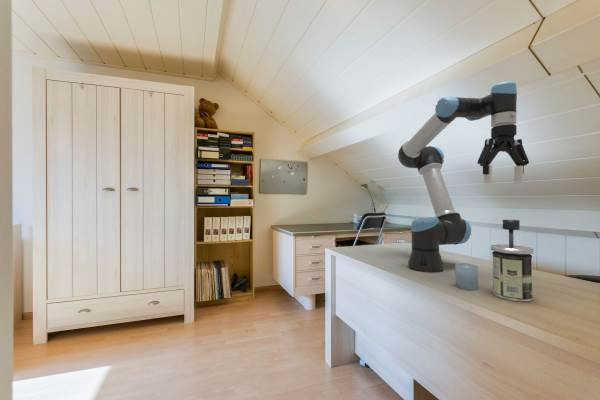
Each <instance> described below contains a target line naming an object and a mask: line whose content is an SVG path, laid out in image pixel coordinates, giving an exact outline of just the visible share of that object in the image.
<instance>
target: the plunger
mask: <svg viewBox="0 0 600 400" xmlns="http://www.w3.org/2000/svg"><path fill="white" fill-rule="evenodd" d="M520 224H521V222H520V220H519V219H502V230H507V231H508V244H498V243H497V244H492V245H490V250H491V251H492V252H494V251H496V252H501V253H509V254H530V255H532V254H534V248H532V247H529V246H524V245H518V244H517V245H516V244H514V231H518V230H519V231H520V230H521V229H520V227H521V225H520Z"/></svg>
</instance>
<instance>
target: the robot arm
mask: <svg viewBox="0 0 600 400" xmlns="http://www.w3.org/2000/svg"><path fill="white" fill-rule="evenodd" d="M490 89H491V90H490V94H488V95H486V96H484V97H481V98H480V97H479V98H475V97H458V96H445V97H441V98H440V99H438V101H437V104H436V105H435V109H434V114H432V116H430V118H429V119H428V120H427V121H426V122H425V123H424V124H423V125H422V127H421V128H419V130H418V131H417V132H415V134H414V135H413V136H412V137H411V139H409V140H407V141H405V142H404V143H403V144H401V146H400V148H399V149H398V152H397V157H398V160H399V163H400V164H401V165H402V166H404V167H405V168H408V169H417V172H418V174H419V175H420V176H422V178H423V180H424V184H425V186H426V190H427V192H428V195H429V199H430V202H431V205H432V208H433V212H434V214H435V216H433V217H432V216H428V217H419V218H415V219H413V220H412V222H411V226H410V231H411V252H410V255H409V258H408V261H407V267H408V268H409V269H411V270H413V271H417V272H423V273H425V272H426V273H437V272H442V271H444V270H445V264H444V263H443V260H442V256H441V253H440V246H442V245H444V246H445V245H446V246H449V245H460V244H465V243H467V242H468V241H469V239H470V236H471V235H472V234H471V233H472V227H471V224H470V222H469V221H467V220H466V219H463V218H462V216H461V214H460V213H459V212H457V211H455V208H454V205H453V202H452V199H451V196H450V194H449V191H448V188H447V185H446V183H445V180H444V178H443V174H442V172H441V169H442V167H443V164H444V159H445V155H444V152H443V150H442V149H441V148H439V147H436V146H432V145H429V144H430V143H431V142H432V141H433V140H434V139H436V137H438V135H440V133H441V132H442V131H444V129H446V128H447V127H448V126H450V124H451V123H452V122H453V121H454V120H456V118H463V119H464V118H465V119H466V120H468V121H472V122H473V121H479V120H480V119H483V118H486V117H488V116H490V127H491V129H490V137H489V138H486V139H484V145H483V148H482V151H481V153H480V155H479V157H478V160H477V164H478V165H479V166H480V167H482V175H483V185H484V184H485V185H486V184H487V185H488V184H492V183H493V165H491V164H492V162H493V161H494V159H495V158H496V157H497V155H498V154H499V153H500V152H503V153H504V152H505V153H506V154H508V155H509V157H510V158H511V160H512V162H513V163H514V164H515V165H514V167H513V169H514V170H513V173H514V176H513V182H514V184H523V183H524V173H525V166H528V164H529V163H530V161H529V157H528V155H527V153H526V151H525V148H524V146H523V139H521V138H519V139H515V136H516V135H517V125H516V124H517V100H518V97H517V95H518V92H517V91H518V90H517V84H516V82H514V81H504V82H499V83H496V84H495V85H493V86H492V87H491V88H490ZM427 145H428V146H427Z"/></svg>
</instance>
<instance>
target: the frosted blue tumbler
mask: <svg viewBox="0 0 600 400" xmlns="http://www.w3.org/2000/svg"><path fill="white" fill-rule="evenodd" d="M478 269H479V268H478V265H476V264H471V263H466V262H459V263H455V264H454V273H455V277H454V279H455V280H454V283H455V287H456V288H457V289H459V290H464V291H470V292H471V291H474V292H475V291H478V290H479V270H478Z"/></svg>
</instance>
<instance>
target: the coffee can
mask: <svg viewBox="0 0 600 400" xmlns="http://www.w3.org/2000/svg"><path fill="white" fill-rule="evenodd" d="M491 252H492V253H491V254H492V275H493V276H492V278H493V279H492V280H493V282H492V284H493V285H492V286H493V291H492V293H493V295H495V297H498V298H500V299H501V298H502V299H503V300H508V301H513V302H520V303H521V302H522V303H523V302H527V303H528V302H531V301H533V279H532V278H533V275H532V273H533V272H532V271H533V270H532V268H533V266H532V264H533V263H532V258H533V255H532V254H509V253H501V252H496V251H491Z"/></svg>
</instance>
